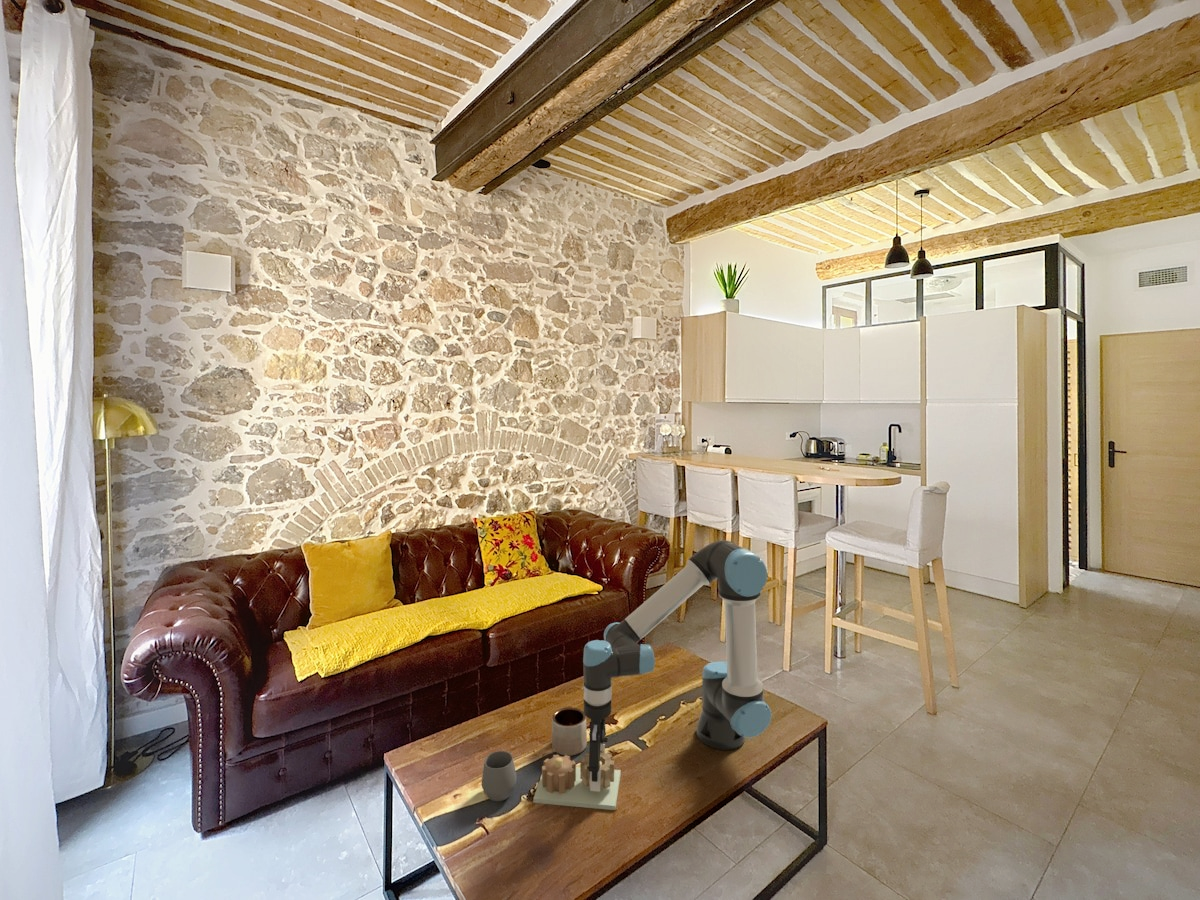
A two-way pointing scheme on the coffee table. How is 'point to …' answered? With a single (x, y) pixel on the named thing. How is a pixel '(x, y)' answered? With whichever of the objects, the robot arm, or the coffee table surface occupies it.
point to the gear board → (572, 786)
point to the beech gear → (605, 770)
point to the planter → (569, 731)
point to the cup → (499, 775)
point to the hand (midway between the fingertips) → (597, 777)
